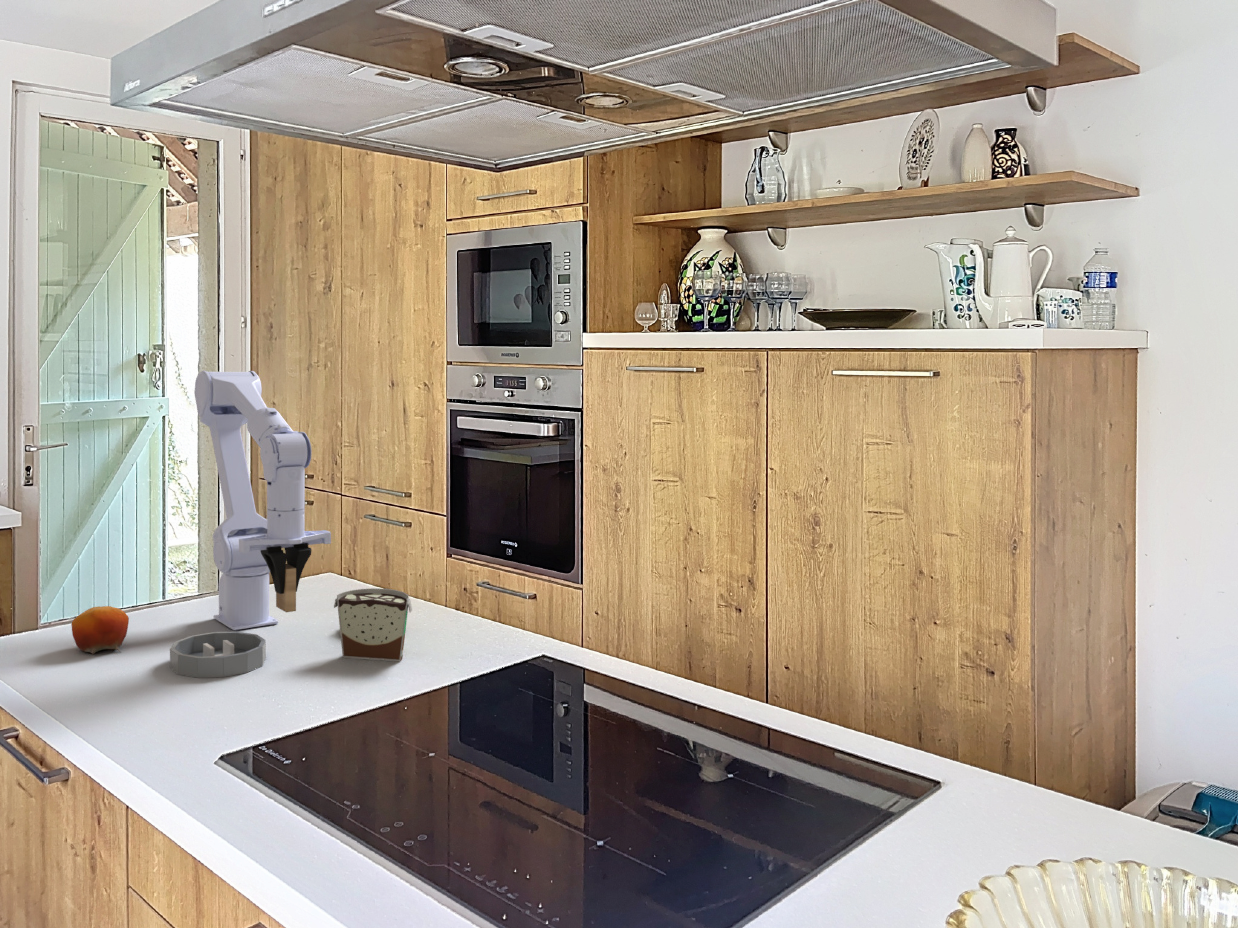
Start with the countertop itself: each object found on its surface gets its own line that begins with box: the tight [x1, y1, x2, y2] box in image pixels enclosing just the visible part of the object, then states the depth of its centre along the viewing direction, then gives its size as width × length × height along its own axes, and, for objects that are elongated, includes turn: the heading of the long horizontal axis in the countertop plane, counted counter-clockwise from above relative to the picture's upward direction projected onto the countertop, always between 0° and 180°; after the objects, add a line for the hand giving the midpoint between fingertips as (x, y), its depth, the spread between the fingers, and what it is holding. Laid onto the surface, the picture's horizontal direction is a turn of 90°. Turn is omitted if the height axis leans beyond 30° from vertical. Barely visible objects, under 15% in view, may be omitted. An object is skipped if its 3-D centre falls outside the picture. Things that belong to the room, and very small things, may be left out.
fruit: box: [70, 605, 130, 655], centre depth 164 cm, size 8×8×8 cm
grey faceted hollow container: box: [169, 631, 267, 679], centre depth 160 cm, size 13×13×3 cm
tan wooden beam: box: [275, 563, 297, 613], centre depth 169 cm, size 4×2×7 cm, turn 41°
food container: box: [333, 588, 413, 662], centre depth 167 cm, size 12×6×10 cm, turn 84°
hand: (286, 591), depth 169 cm, fingers closed on tan wooden beam, 1 cm apart
